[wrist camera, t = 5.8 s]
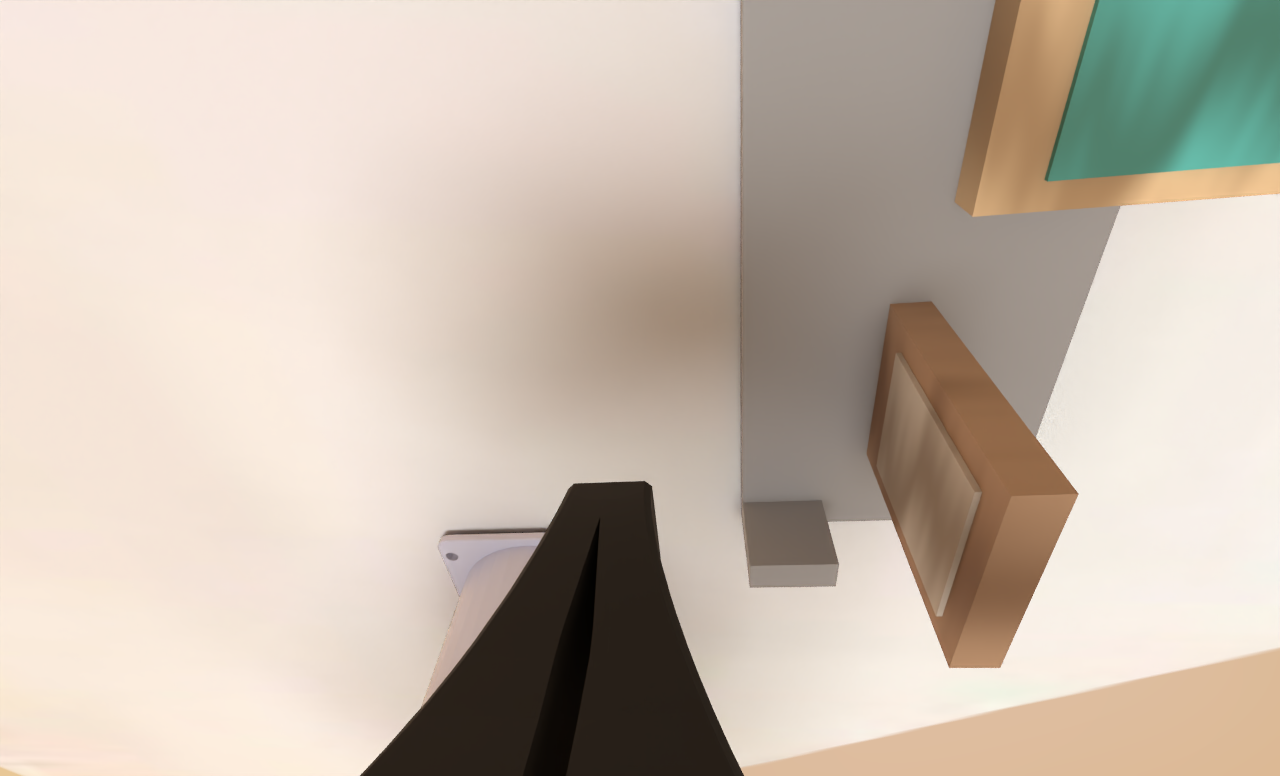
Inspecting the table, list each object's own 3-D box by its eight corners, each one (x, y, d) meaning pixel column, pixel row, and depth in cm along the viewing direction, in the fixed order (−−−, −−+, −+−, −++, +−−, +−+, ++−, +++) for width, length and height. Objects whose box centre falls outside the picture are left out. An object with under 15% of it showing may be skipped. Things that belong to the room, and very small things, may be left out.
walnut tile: (901, 452, 21) (1000, 667, 15) (862, 453, 21) (942, 667, 15) (931, 301, 18) (1078, 494, 11) (885, 304, 18) (1003, 496, 11)
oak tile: (954, 201, 16) (1280, 176, 15) (975, 218, 15) (1327, 192, 14) (1011, -79, 13) (1436, -132, 12) (1043, -84, 12) (1514, -142, 11)
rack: (1000, 507, 23) (1045, 583, 20) (741, 514, 24) (750, 587, 21) (1305, -357, 11) (1536, -477, 8) (740, -266, 12) (760, -344, 9)
